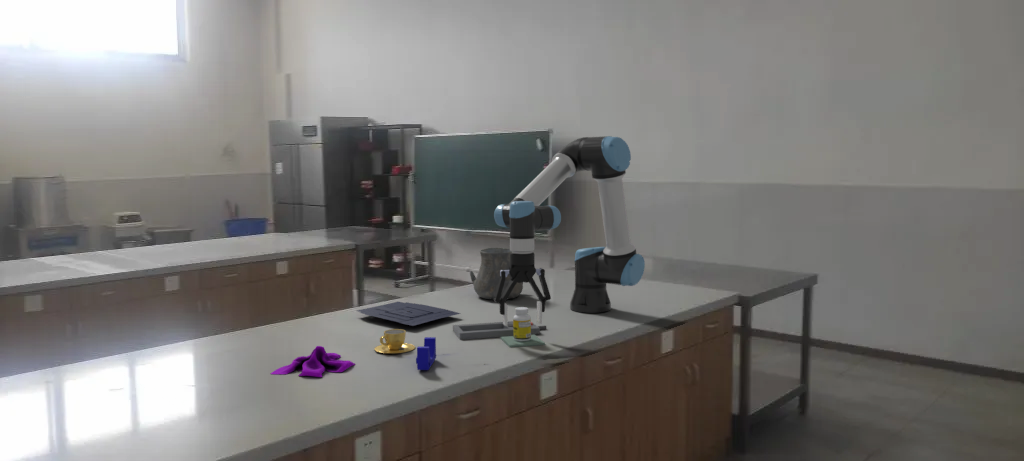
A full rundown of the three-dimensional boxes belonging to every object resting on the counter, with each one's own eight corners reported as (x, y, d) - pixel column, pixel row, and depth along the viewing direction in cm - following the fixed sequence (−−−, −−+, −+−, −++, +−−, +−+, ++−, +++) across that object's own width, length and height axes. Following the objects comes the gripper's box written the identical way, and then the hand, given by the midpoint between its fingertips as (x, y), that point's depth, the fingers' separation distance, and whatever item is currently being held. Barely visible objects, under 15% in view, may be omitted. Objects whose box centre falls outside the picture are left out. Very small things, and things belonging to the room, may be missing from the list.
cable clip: (420, 357, 210) (419, 337, 210) (435, 358, 210) (435, 337, 210) (411, 369, 199) (411, 347, 198) (428, 370, 198) (428, 348, 198)
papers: (401, 307, 279) (401, 298, 278) (461, 320, 260) (461, 310, 260) (351, 319, 259) (351, 309, 259) (412, 334, 241) (412, 323, 241)
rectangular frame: (540, 325, 250) (540, 317, 250) (551, 333, 239) (551, 325, 238) (452, 331, 242) (452, 323, 242) (459, 339, 231) (459, 331, 231)
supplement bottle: (512, 337, 230) (512, 306, 229) (530, 337, 231) (529, 306, 230) (514, 342, 225) (513, 310, 224) (531, 341, 225) (531, 309, 224)
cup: (400, 342, 229) (400, 325, 228) (423, 349, 220) (422, 331, 219) (366, 349, 221) (366, 331, 220) (388, 357, 212) (388, 338, 211)
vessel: (538, 299, 296) (538, 250, 294) (492, 306, 284) (491, 254, 282) (508, 292, 314) (508, 245, 312) (463, 297, 302) (462, 248, 300)
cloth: (330, 354, 216) (330, 333, 216) (368, 366, 204) (367, 344, 203) (259, 370, 200) (258, 347, 200) (295, 384, 188) (294, 360, 187)
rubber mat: (534, 336, 234) (534, 334, 234) (544, 344, 224) (544, 342, 224) (500, 338, 232) (500, 336, 232) (509, 347, 221) (509, 345, 221)
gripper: (553, 249, 232) (553, 319, 234) (482, 251, 226) (483, 323, 228) (561, 252, 224) (561, 324, 227) (488, 254, 219) (489, 328, 221)
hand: (522, 323), depth 227 cm, fingers open, 10 cm apart
